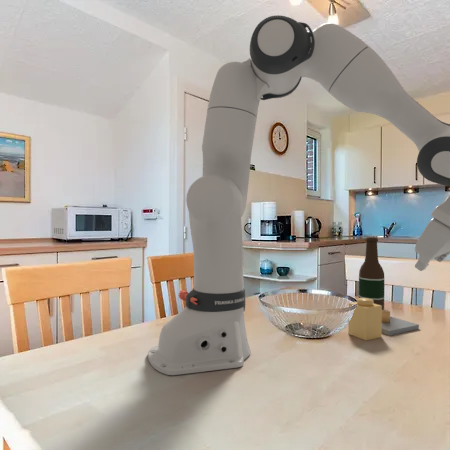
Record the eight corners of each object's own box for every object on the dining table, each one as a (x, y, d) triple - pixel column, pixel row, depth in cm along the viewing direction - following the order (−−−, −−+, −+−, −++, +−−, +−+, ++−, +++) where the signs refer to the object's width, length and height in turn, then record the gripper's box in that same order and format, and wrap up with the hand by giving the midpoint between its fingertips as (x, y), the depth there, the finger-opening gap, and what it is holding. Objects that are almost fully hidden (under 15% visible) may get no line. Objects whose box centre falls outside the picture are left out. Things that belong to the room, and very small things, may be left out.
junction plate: (389, 335, 90) (389, 319, 90) (352, 323, 100) (352, 308, 100) (418, 328, 95) (419, 313, 95) (381, 317, 106) (381, 304, 106)
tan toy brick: (365, 340, 86) (366, 303, 86) (348, 333, 91) (348, 298, 91) (381, 337, 89) (381, 300, 89) (363, 330, 94) (363, 296, 93)
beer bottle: (385, 309, 115) (386, 237, 115) (382, 315, 109) (383, 238, 108) (360, 306, 119) (361, 236, 119) (356, 311, 113) (356, 237, 112)
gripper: (470, 198, 79) (435, 247, 86) (430, 209, 66) (394, 264, 74) (499, 214, 75) (460, 263, 82) (463, 228, 62) (421, 284, 70)
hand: (428, 263), depth 78 cm, fingers open, 8 cm apart
